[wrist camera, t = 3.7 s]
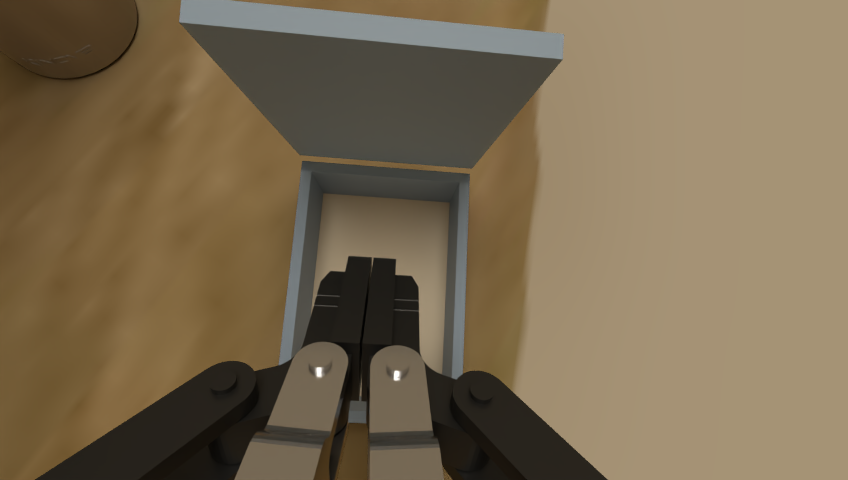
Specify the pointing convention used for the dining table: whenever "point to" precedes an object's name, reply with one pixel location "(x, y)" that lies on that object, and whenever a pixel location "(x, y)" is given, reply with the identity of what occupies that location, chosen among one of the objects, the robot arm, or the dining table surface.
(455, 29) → the lid
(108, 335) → the dining table surface
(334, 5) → the dining table surface
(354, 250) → the box
